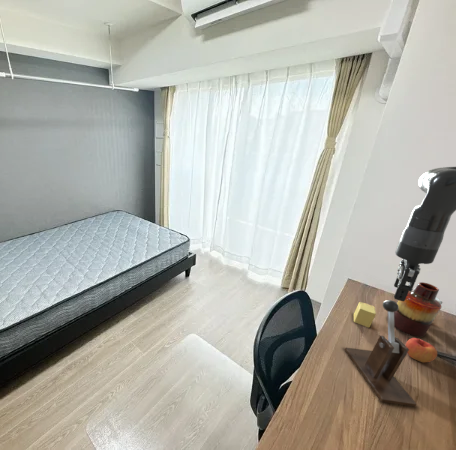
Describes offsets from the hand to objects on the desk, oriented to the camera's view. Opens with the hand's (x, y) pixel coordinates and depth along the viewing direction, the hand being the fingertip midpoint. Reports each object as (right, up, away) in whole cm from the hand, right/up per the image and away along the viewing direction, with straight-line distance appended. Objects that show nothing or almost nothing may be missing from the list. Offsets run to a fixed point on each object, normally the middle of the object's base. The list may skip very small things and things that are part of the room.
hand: (398, 293), depth 72 cm
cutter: (0, -29, +7) cm, 30 cm away
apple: (+20, -27, +14) cm, 37 cm away
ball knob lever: (+1, -11, +5) cm, 12 cm away
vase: (+31, -22, +28) cm, 47 cm away
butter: (+14, -20, +30) cm, 39 cm away
